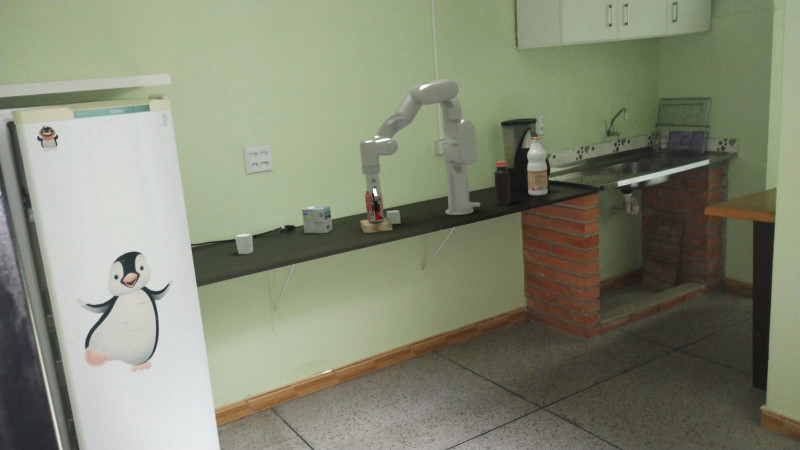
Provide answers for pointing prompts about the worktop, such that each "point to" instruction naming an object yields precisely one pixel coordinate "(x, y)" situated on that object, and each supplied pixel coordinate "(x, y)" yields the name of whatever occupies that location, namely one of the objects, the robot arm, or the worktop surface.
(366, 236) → the worktop surface
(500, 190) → the bottle
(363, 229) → the slab
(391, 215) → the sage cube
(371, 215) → the soda can
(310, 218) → the light bulb box
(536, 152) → the fruit juice
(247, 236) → the white cup
